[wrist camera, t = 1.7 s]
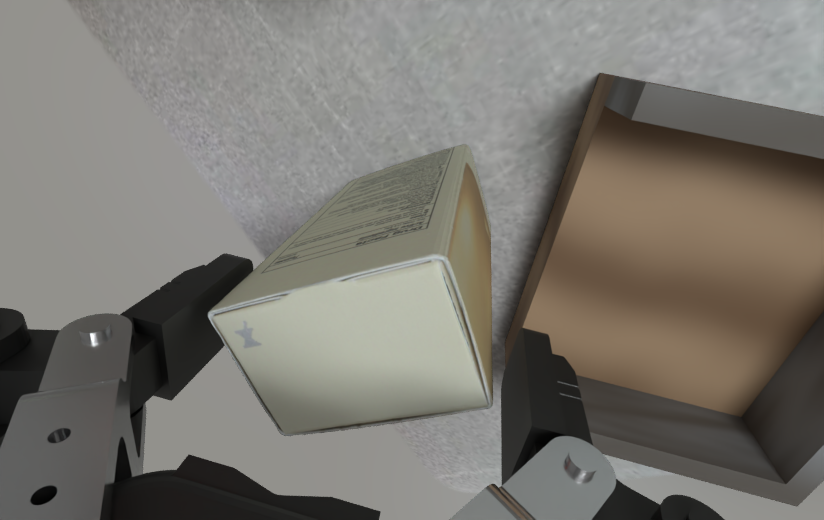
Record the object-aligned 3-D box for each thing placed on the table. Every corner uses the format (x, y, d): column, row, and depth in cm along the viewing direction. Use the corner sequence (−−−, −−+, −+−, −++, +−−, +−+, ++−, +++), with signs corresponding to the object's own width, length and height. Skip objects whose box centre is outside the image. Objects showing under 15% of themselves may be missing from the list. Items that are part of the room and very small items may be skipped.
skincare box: (380, 255, 22) (270, 443, 12) (348, 178, 21) (189, 315, 10) (499, 225, 20) (499, 418, 10) (475, 138, 19) (444, 255, 8)
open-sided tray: (600, 72, 17) (646, 82, 12) (919, 135, 16) (1130, 177, 11) (504, 342, 23) (506, 427, 18) (726, 399, 22) (797, 506, 17)
